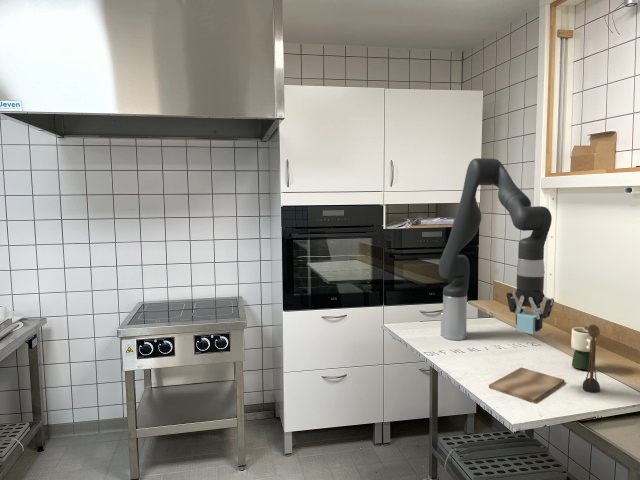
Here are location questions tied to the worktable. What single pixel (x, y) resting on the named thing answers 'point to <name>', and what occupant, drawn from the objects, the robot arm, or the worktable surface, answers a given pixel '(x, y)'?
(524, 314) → the teal cube
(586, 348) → the character mug
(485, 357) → the worktable surface
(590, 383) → the wooden tabletop sculpture
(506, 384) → the walnut board
